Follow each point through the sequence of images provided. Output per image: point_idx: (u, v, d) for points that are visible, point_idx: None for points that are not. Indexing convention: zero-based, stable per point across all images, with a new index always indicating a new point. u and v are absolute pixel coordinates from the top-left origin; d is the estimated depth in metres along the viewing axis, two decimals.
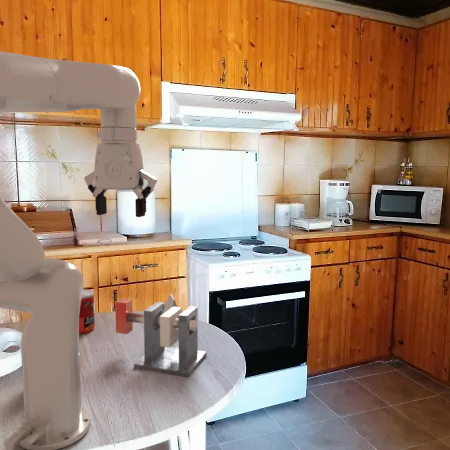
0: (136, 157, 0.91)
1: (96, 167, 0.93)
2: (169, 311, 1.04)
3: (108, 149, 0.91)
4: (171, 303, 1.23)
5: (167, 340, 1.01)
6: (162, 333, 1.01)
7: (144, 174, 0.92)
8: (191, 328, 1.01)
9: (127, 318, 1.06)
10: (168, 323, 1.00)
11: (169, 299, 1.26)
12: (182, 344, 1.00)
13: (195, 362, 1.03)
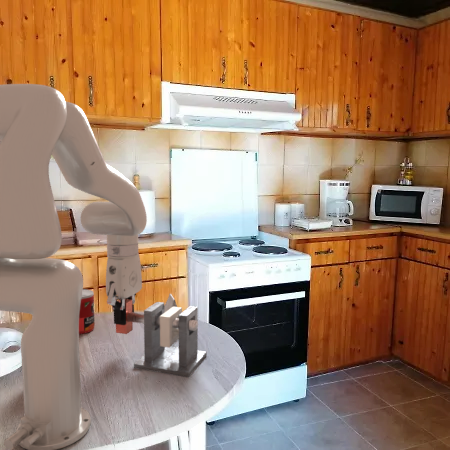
0: None
1: (123, 281, 1.02)
2: (169, 311, 1.04)
3: (130, 263, 1.04)
4: (171, 303, 1.23)
5: (167, 340, 1.01)
6: (162, 333, 1.01)
7: None
8: (191, 328, 1.01)
9: (127, 318, 1.06)
10: (168, 323, 1.00)
11: (169, 299, 1.26)
12: (182, 344, 1.00)
13: (195, 362, 1.03)
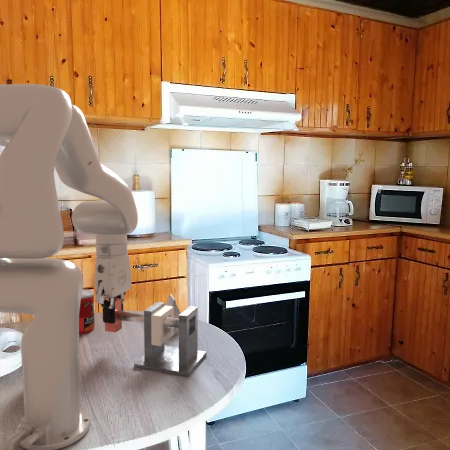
0: None
1: (112, 280, 1.03)
2: (161, 310, 1.05)
3: (119, 262, 1.05)
4: (171, 303, 1.23)
5: (158, 339, 1.01)
6: (153, 332, 1.02)
7: None
8: None
9: (115, 317, 1.07)
10: (159, 322, 1.01)
11: (169, 299, 1.26)
12: (182, 344, 1.00)
13: (195, 362, 1.03)
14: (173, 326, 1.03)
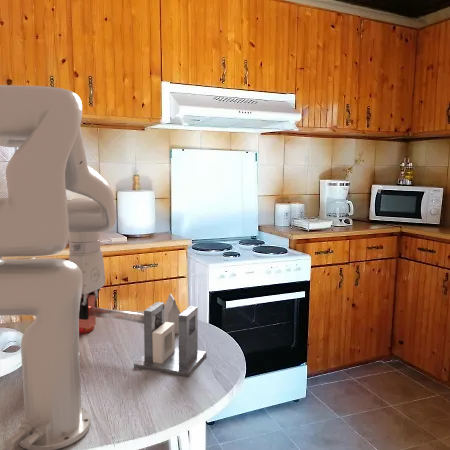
0: None
1: (84, 277, 1.05)
2: (162, 327, 1.05)
3: (92, 259, 1.08)
4: (171, 303, 1.23)
5: (159, 356, 1.02)
6: (154, 349, 1.02)
7: None
8: None
9: (89, 313, 1.10)
10: (160, 339, 1.01)
11: (169, 299, 1.26)
12: (182, 344, 1.00)
13: (195, 362, 1.03)
14: None
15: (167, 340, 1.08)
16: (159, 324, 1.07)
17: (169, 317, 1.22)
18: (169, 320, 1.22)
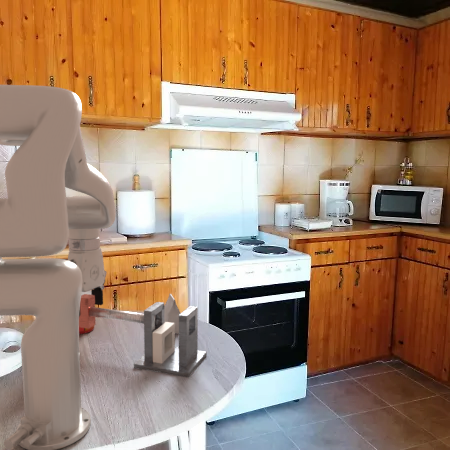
0: None
1: (84, 274, 1.05)
2: (162, 327, 1.05)
3: (91, 257, 1.07)
4: (171, 303, 1.23)
5: (159, 356, 1.02)
6: (154, 349, 1.02)
7: None
8: None
9: (89, 313, 1.10)
10: (160, 339, 1.01)
11: (169, 299, 1.26)
12: (182, 344, 1.00)
13: (195, 362, 1.03)
14: None
15: (167, 340, 1.08)
16: (159, 324, 1.07)
17: (169, 317, 1.22)
18: (169, 320, 1.22)
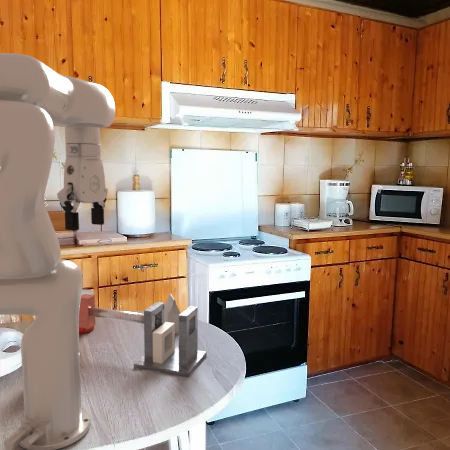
0: None
1: (82, 182, 0.94)
2: (162, 327, 1.05)
3: (91, 165, 0.96)
4: (171, 303, 1.23)
5: (159, 356, 1.02)
6: (154, 349, 1.02)
7: None
8: None
9: (89, 313, 1.10)
10: (160, 339, 1.01)
11: (169, 299, 1.26)
12: (182, 344, 1.00)
13: (195, 362, 1.03)
14: None
15: (167, 340, 1.08)
16: (159, 324, 1.07)
17: (169, 317, 1.22)
18: (169, 320, 1.22)
